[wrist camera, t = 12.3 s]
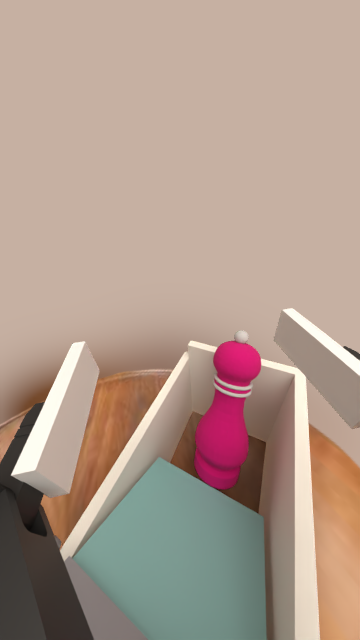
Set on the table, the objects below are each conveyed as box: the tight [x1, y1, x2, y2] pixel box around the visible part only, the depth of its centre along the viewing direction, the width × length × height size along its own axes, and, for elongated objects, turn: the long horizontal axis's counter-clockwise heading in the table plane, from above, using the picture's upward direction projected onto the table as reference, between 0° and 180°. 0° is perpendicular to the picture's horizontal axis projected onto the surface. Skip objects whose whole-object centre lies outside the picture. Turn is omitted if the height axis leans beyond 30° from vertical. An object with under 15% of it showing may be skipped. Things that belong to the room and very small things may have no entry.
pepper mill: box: [194, 331, 261, 490], centre depth 25 cm, size 7×7×20 cm
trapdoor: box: [64, 457, 267, 640], centre depth 14 cm, size 14×22×4 cm
